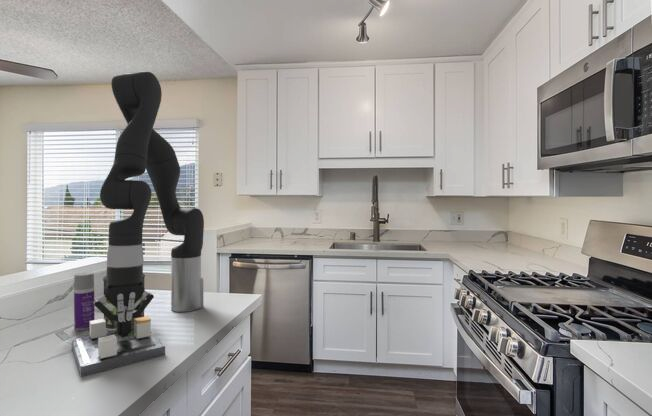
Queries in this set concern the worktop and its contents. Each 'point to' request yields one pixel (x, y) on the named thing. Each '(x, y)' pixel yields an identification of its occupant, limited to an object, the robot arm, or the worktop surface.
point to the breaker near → (107, 346)
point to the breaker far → (97, 328)
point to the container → (83, 300)
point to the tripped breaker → (142, 327)
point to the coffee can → (113, 324)
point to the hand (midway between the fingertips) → (123, 335)
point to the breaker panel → (126, 352)
